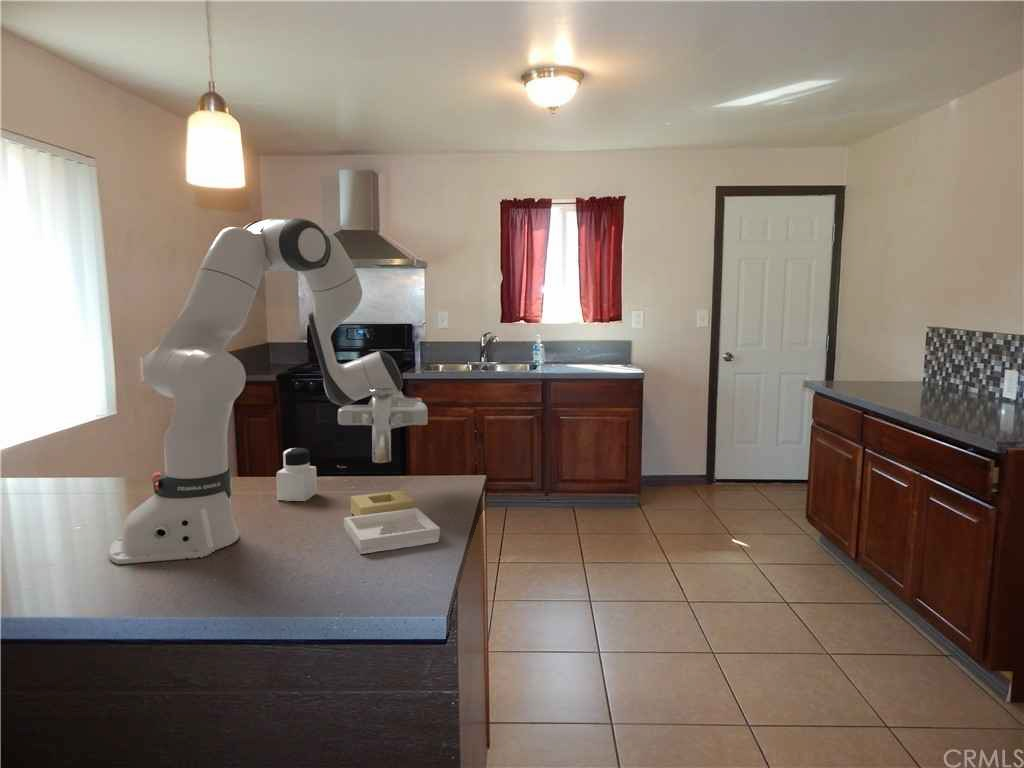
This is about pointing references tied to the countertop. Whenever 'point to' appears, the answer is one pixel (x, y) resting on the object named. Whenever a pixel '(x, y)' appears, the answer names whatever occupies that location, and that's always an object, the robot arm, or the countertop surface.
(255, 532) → the countertop surface
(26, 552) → the countertop surface
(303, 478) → the medicine bottle
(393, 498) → the block
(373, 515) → the tray
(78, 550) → the countertop surface
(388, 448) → the steel pin
